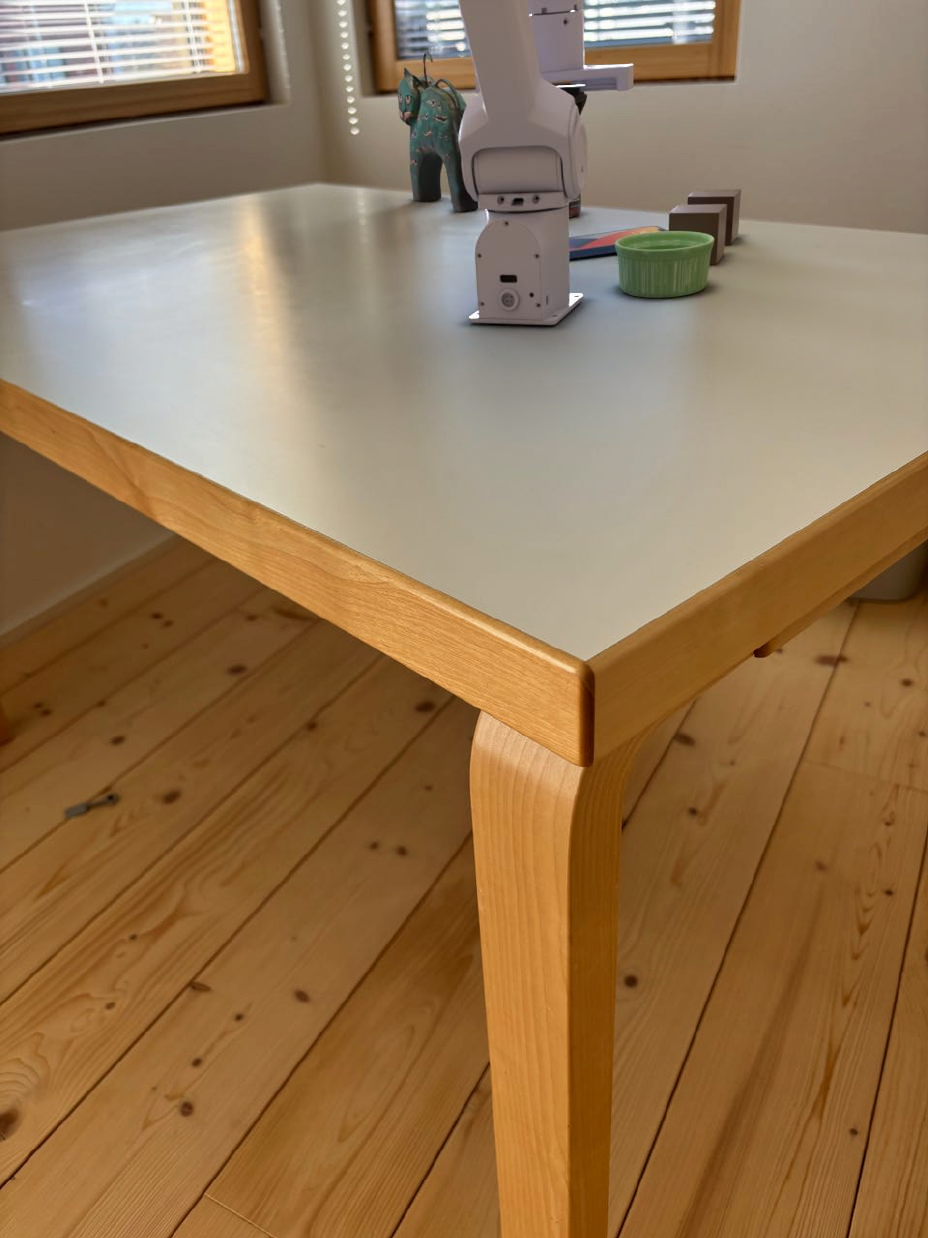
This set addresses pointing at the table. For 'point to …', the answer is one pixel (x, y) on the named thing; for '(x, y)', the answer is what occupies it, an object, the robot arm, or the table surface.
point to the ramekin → (664, 263)
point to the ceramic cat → (434, 137)
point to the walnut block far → (721, 197)
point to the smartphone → (603, 241)
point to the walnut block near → (702, 224)
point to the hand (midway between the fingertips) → (555, 178)
